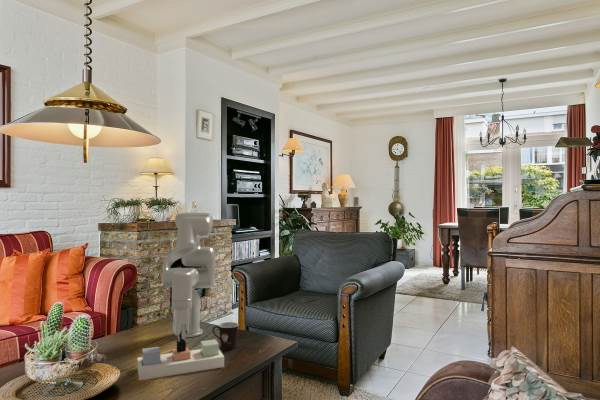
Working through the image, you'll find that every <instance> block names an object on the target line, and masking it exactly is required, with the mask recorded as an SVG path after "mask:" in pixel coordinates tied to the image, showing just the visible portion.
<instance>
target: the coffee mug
mask: <svg viewBox="0 0 600 400" xmlns="http://www.w3.org/2000/svg"><path fill="white" fill-rule="evenodd" d="M216 328H217V329H218V331H219V336H218V335H217V334H216V333H215V329H216ZM212 334H213V335H214V336H215V337H216V338H217V339H218V340H220V347H221V348H220V350H223V351H231V350H236V348H237V340H238V334H239V323H237V322H235V321H226V322H222V323H219V324H218V326H217V325H215V326H213V328H212Z"/></svg>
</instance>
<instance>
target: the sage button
mask: <svg viewBox="0 0 600 400" xmlns="http://www.w3.org/2000/svg"><path fill="white" fill-rule="evenodd" d="M200 349H201V355H202V357H208V356H215V355H219V350H220V343H219V342H218V341H217V339H209V340H201V341H200Z"/></svg>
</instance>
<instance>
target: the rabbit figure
mask: <svg viewBox="0 0 600 400" xmlns="http://www.w3.org/2000/svg"><path fill="white" fill-rule="evenodd" d="M96 353H97V352H96ZM102 359H103V360H104V362H106V359H107V354H100V353H97V361H96V362H97V363H99V362H101V361H102Z"/></svg>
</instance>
